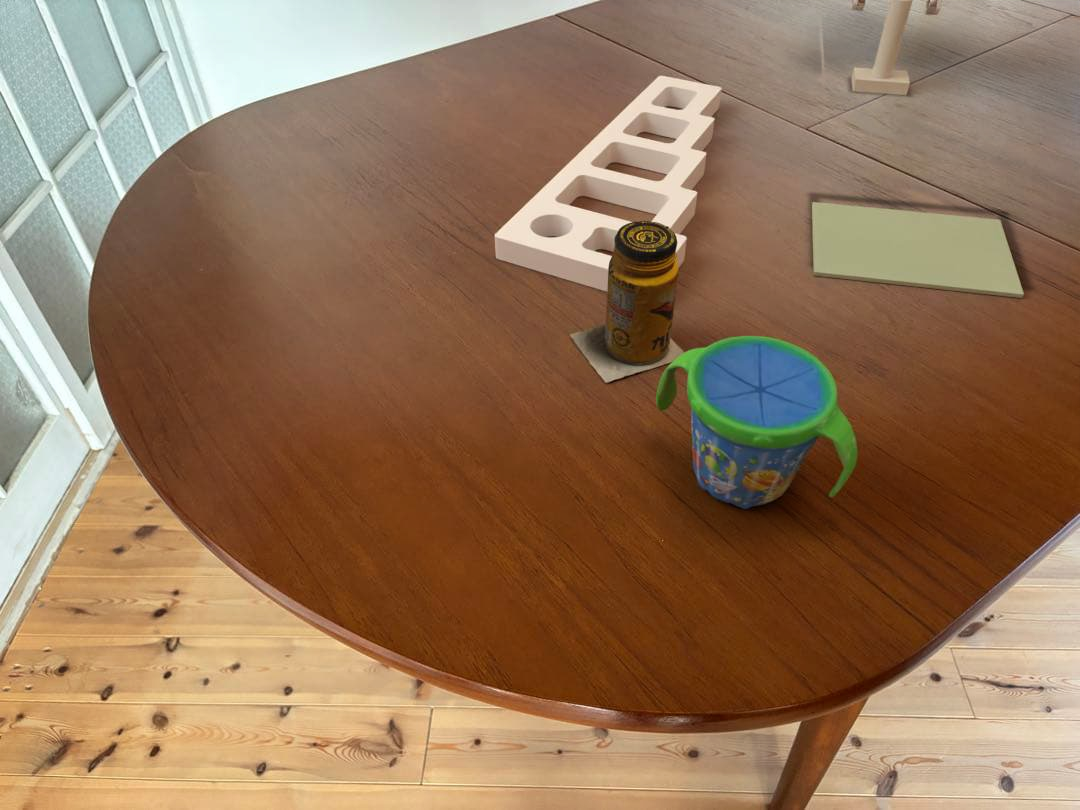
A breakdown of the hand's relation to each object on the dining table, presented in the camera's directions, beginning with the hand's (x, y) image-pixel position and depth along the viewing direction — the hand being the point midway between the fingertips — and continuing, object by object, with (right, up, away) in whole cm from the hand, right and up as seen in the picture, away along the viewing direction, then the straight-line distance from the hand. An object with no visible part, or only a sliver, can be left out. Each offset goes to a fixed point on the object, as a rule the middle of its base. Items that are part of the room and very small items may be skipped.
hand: (894, 10), depth 113 cm
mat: (-8, -35, -22) cm, 42 cm away
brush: (-1, -10, +5) cm, 11 cm away
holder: (-33, -26, -11) cm, 43 cm away
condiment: (-39, -47, -33) cm, 69 cm away
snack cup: (-31, -58, -45) cm, 79 cm away
